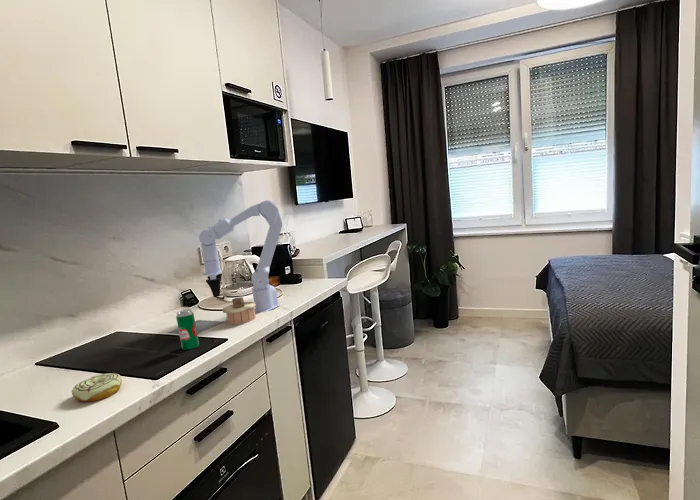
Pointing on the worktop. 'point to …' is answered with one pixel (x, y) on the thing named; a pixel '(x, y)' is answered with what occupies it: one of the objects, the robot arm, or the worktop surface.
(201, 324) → the mat
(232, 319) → the bowl
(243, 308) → the lid
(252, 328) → the worktop surface
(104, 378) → the decorated donut
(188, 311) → the soda can
